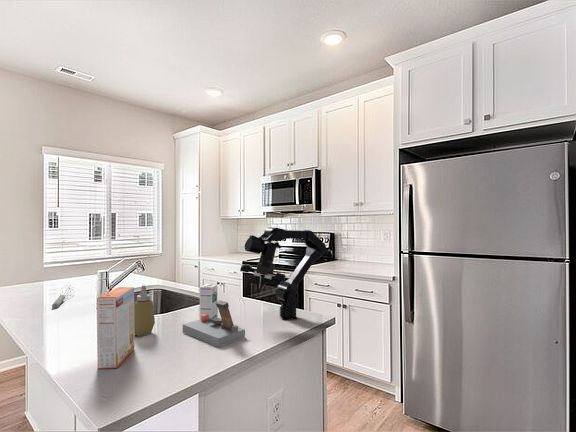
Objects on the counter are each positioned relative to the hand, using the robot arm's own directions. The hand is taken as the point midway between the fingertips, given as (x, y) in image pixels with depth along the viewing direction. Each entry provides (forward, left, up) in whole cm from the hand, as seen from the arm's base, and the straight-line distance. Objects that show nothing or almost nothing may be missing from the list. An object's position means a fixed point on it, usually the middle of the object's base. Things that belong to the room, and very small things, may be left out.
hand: (258, 293), depth 138 cm
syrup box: (+20, -11, -13) cm, 26 cm away
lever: (+13, +14, -9) cm, 21 cm away
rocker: (+17, +7, -9) cm, 21 cm away
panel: (+18, +9, -12) cm, 24 cm away
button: (+21, +1, -9) cm, 23 cm away
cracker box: (+48, +24, -13) cm, 55 cm away
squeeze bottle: (+44, +2, -13) cm, 46 cm away
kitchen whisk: (+92, -59, -13) cm, 110 cm away
